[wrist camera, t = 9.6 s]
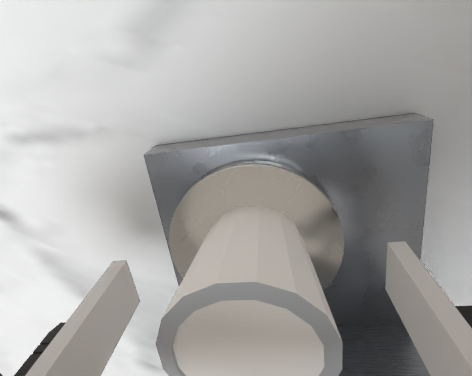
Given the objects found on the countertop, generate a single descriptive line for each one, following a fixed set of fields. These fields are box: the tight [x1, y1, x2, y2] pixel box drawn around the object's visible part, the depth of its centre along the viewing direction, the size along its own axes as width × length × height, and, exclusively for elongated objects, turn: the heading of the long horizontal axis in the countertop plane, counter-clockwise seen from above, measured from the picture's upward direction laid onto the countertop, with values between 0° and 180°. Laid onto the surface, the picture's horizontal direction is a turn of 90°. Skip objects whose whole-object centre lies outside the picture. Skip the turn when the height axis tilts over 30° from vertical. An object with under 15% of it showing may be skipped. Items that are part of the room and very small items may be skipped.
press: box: [144, 113, 433, 376], centre depth 15 cm, size 15×20×14 cm
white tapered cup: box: [156, 206, 343, 376], centre depth 14 cm, size 7×7×7 cm
